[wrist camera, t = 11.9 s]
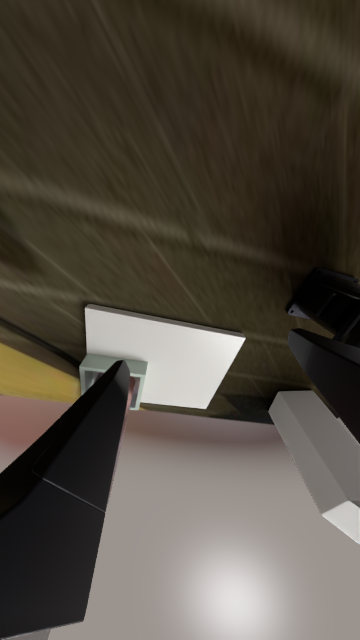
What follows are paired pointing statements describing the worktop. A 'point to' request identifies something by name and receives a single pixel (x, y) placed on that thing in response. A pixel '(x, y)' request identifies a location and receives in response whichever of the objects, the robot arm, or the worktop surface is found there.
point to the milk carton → (322, 456)
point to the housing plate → (158, 355)
